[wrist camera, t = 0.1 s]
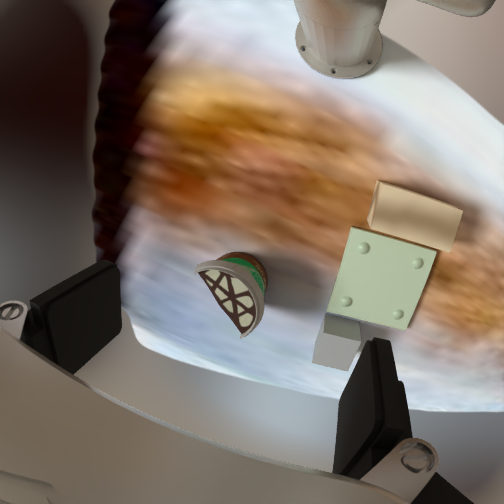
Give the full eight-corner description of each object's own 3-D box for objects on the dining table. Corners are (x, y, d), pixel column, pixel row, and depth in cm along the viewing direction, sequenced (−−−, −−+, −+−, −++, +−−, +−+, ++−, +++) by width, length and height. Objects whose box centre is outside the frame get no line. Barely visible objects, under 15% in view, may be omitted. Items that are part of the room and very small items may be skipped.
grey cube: (325, 313, 49) (323, 332, 44) (359, 321, 48) (361, 341, 43) (315, 341, 52) (312, 362, 46) (347, 349, 50) (347, 371, 45)
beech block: (376, 179, 41) (383, 183, 36) (448, 203, 39) (463, 210, 34) (366, 219, 43) (371, 228, 38) (437, 240, 41) (449, 252, 36)
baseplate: (351, 226, 44) (351, 227, 43) (434, 249, 41) (437, 252, 40) (326, 308, 49) (326, 311, 48) (404, 327, 46) (405, 330, 45)
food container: (289, 293, 50) (278, 325, 41) (258, 309, 52) (242, 341, 43) (247, 229, 48) (226, 248, 39) (217, 248, 51) (191, 270, 41)
